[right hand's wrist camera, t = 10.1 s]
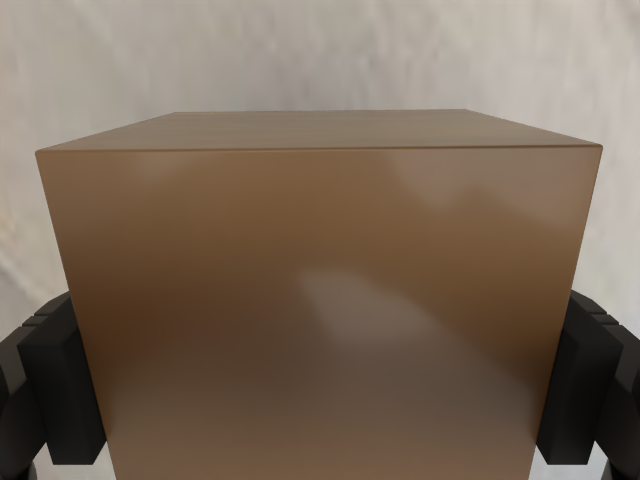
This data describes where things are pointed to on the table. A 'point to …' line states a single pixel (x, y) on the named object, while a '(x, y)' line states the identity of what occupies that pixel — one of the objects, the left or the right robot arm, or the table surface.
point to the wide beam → (321, 289)
